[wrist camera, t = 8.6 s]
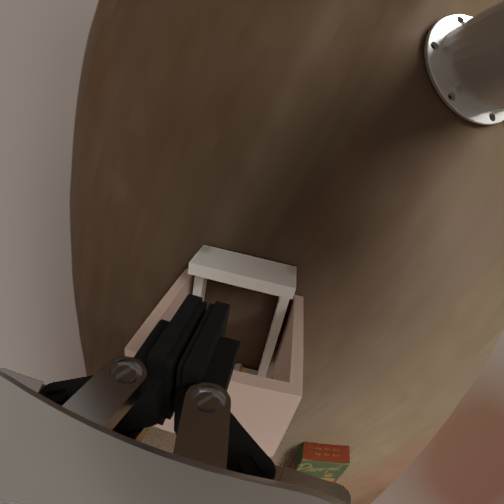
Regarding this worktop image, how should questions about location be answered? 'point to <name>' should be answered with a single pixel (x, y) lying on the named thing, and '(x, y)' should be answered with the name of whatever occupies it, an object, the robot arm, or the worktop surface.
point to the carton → (322, 460)
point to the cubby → (243, 384)
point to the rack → (247, 285)
